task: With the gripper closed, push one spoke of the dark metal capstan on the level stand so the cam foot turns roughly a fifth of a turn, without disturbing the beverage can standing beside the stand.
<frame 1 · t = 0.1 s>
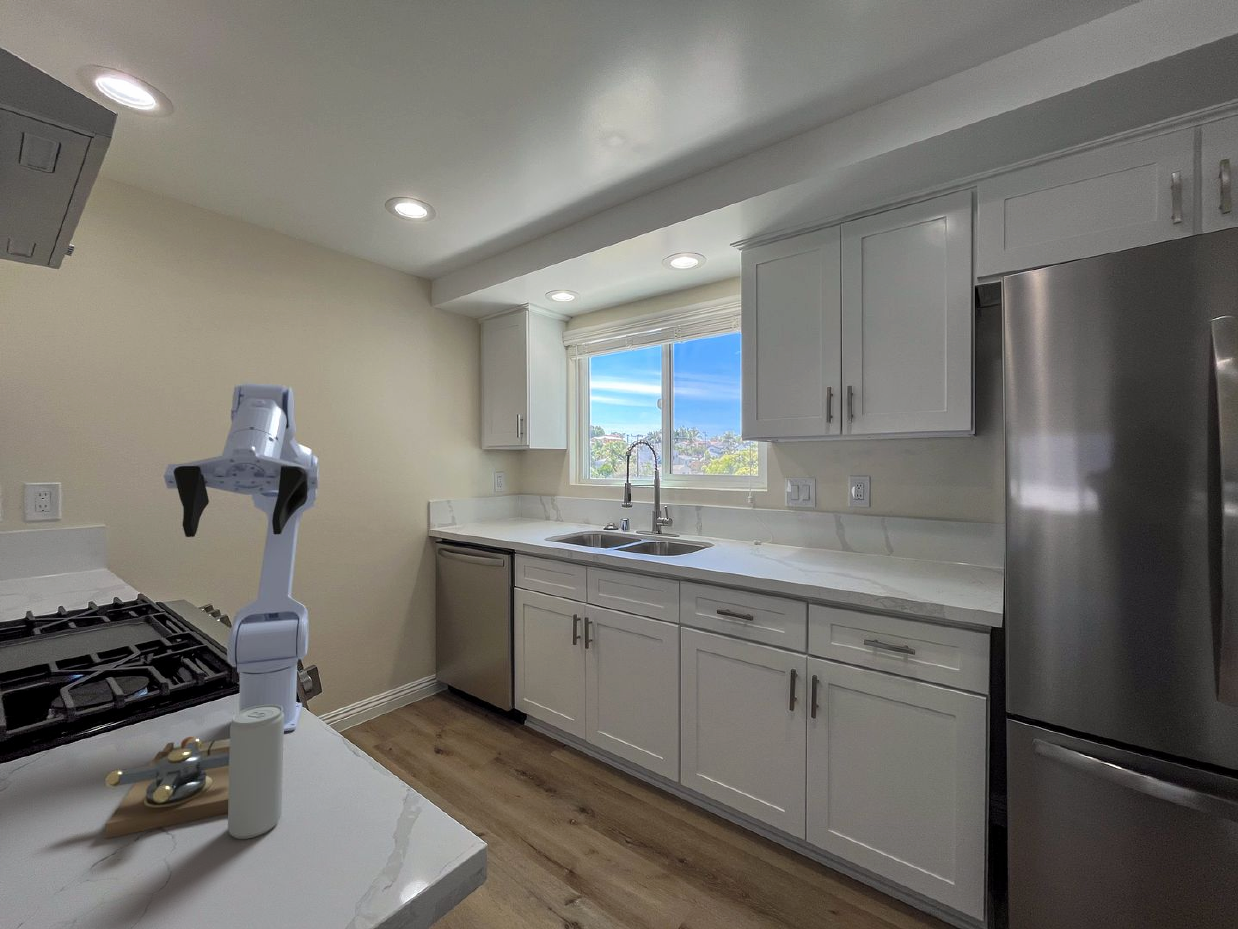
hand: (233, 529, 57), 32 cm above the worktop, tool tilted 50°, fingers open, 7 cm apart
beverage can: (254, 828, 58), on the worktop
level stand: (199, 784, 65), on the worktop
capstan: (179, 770, 61), point 4 cm above the worktop, hinge at 0.0°
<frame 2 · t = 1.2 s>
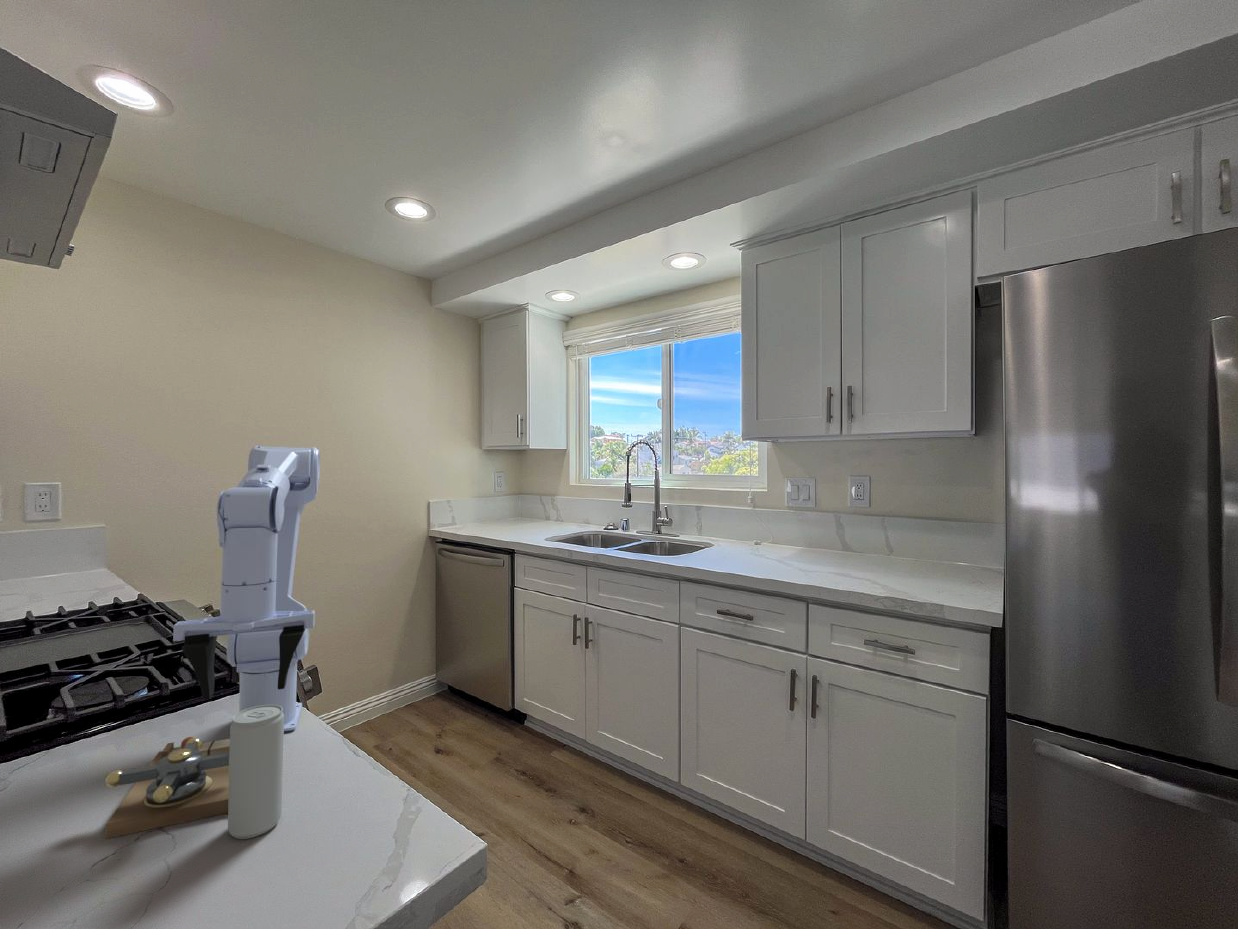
hand: (246, 691, 67), 10 cm above the worktop, tool pointing down, fingers open, 7 cm apart
nothing on the worktop moved.
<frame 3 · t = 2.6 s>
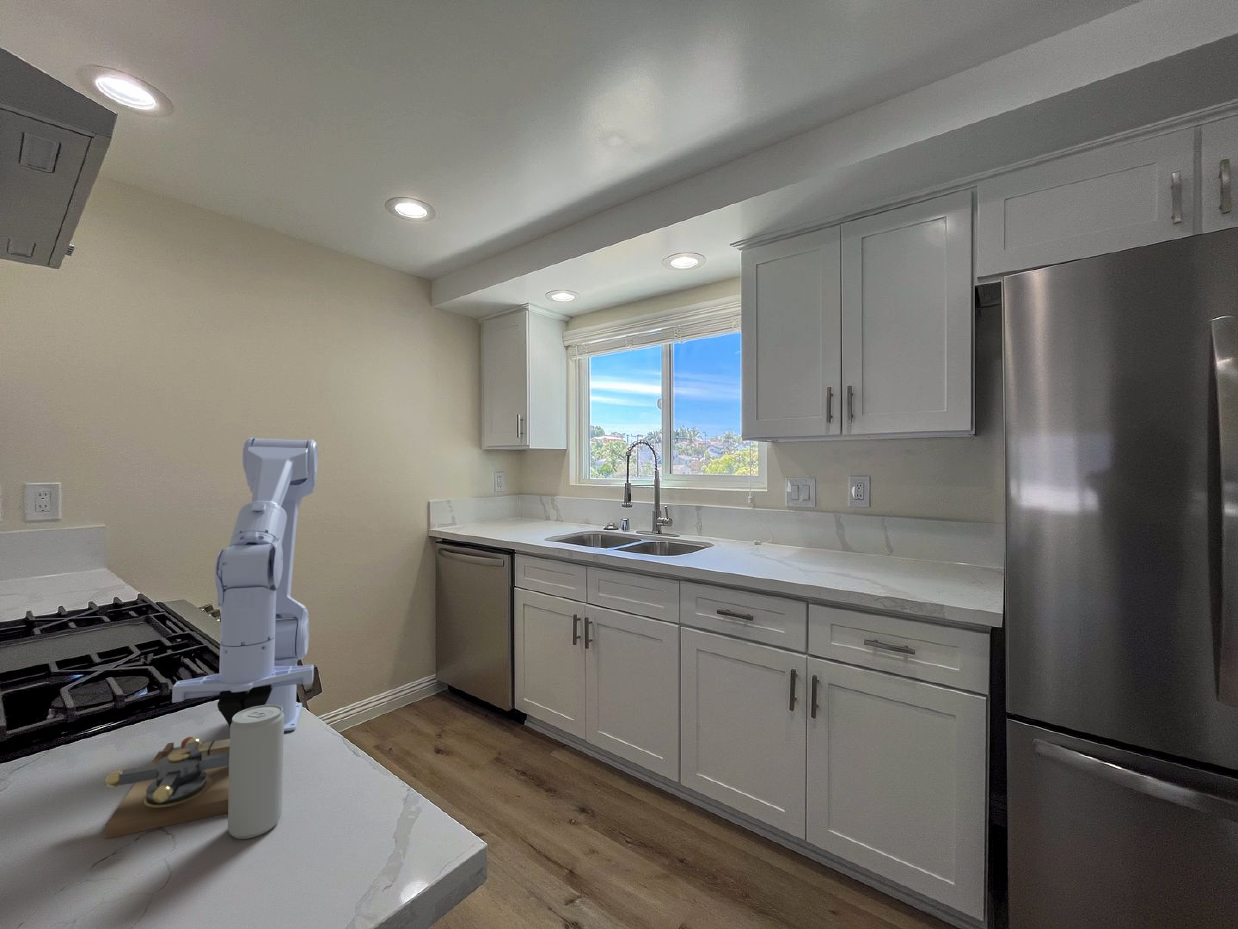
hand: (245, 749, 68), 3 cm above the worktop, tool pointing down, fingers closed
nothing on the worktop moved.
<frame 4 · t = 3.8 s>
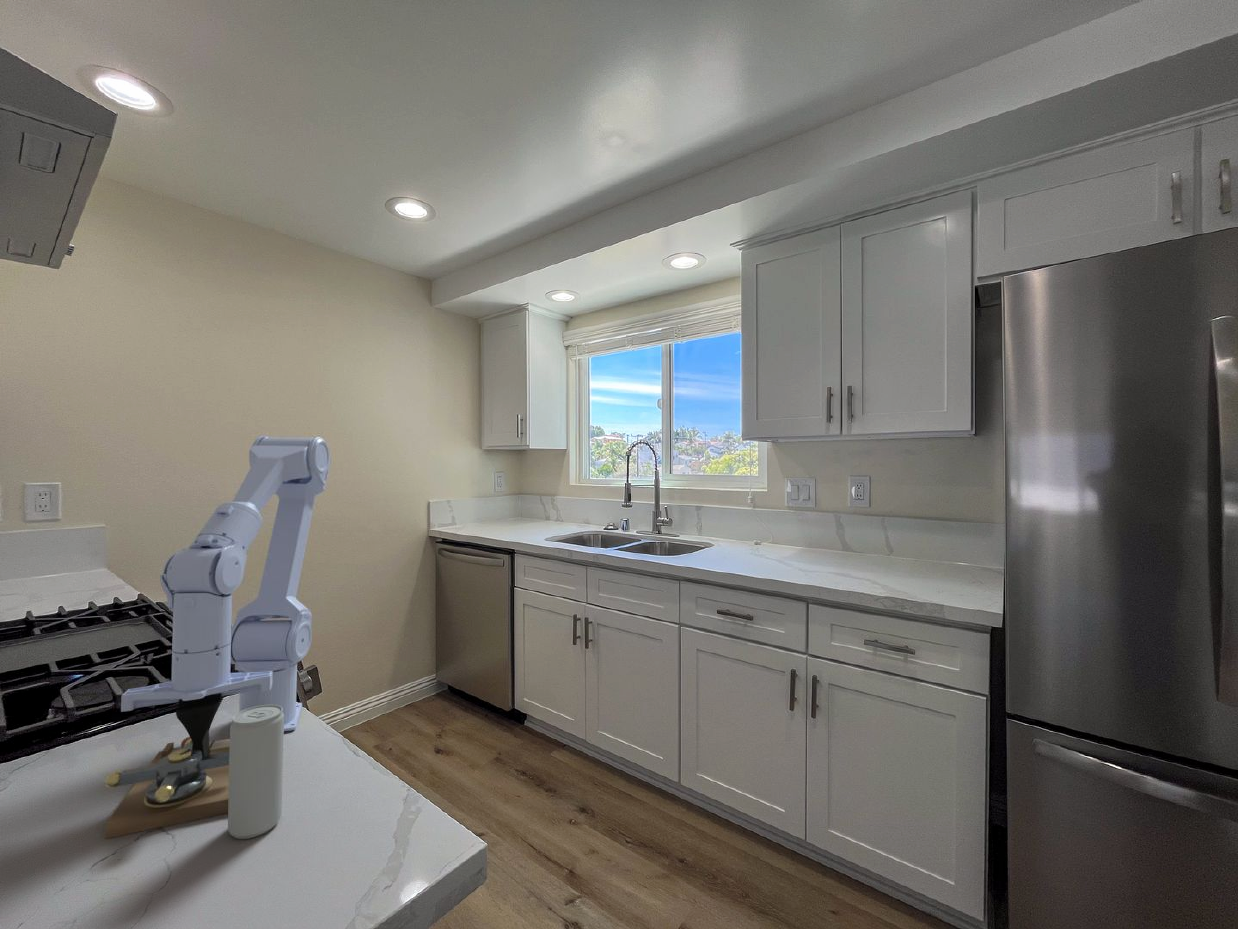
hand: (199, 758, 66), 3 cm above the worktop, tool pointing down, fingers closed, pressing on capstan
capstan: (179, 770, 61), point 4 cm above the worktop, hinge at 1.4°, touching gripper
everything else where it was.
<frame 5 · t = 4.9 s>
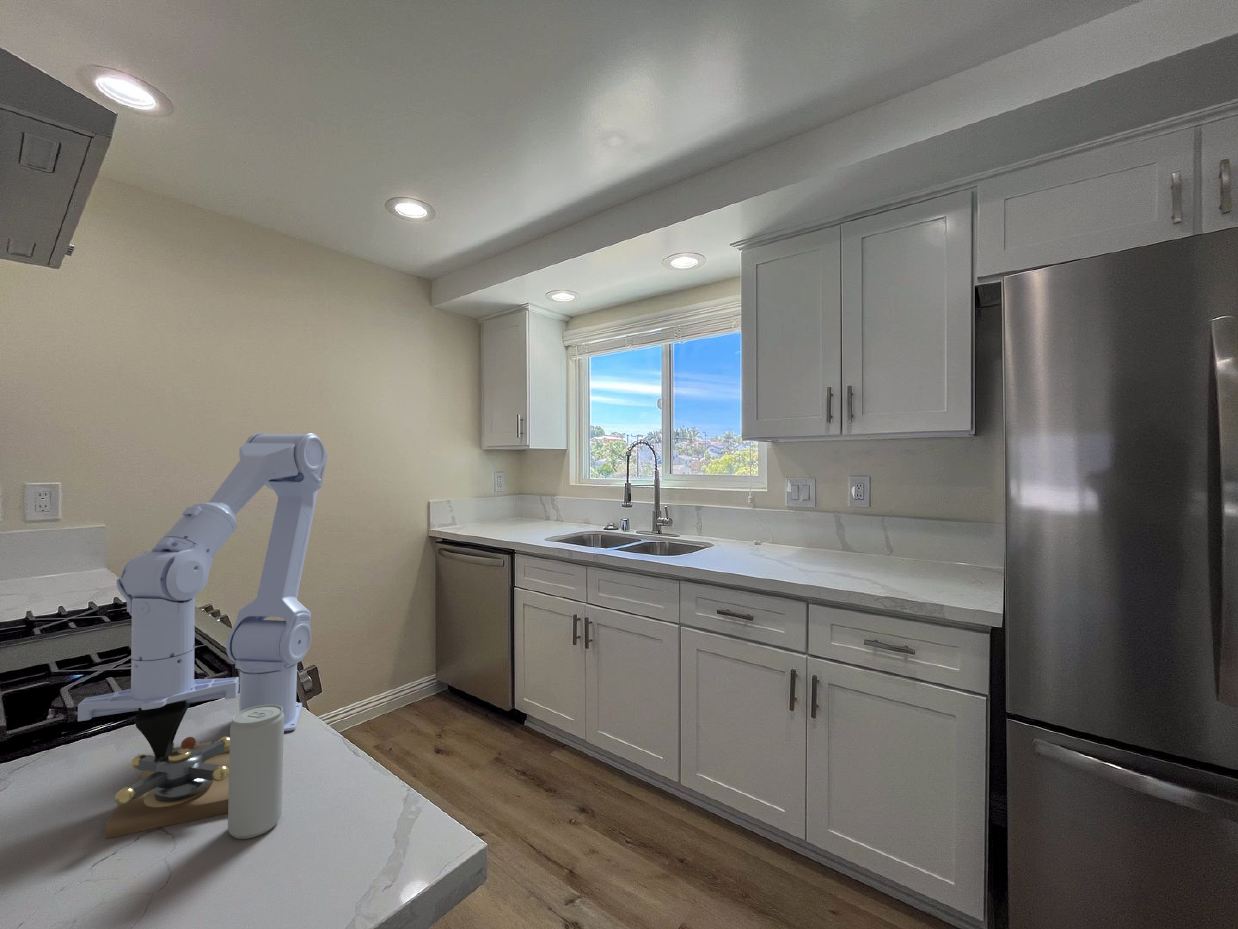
hand: (162, 767, 64), 3 cm above the worktop, tool pointing down, fingers closed, pressing on capstan
capstan: (179, 770, 61), point 4 cm above the worktop, hinge at 53.2°, touching gripper
everything else where it was.
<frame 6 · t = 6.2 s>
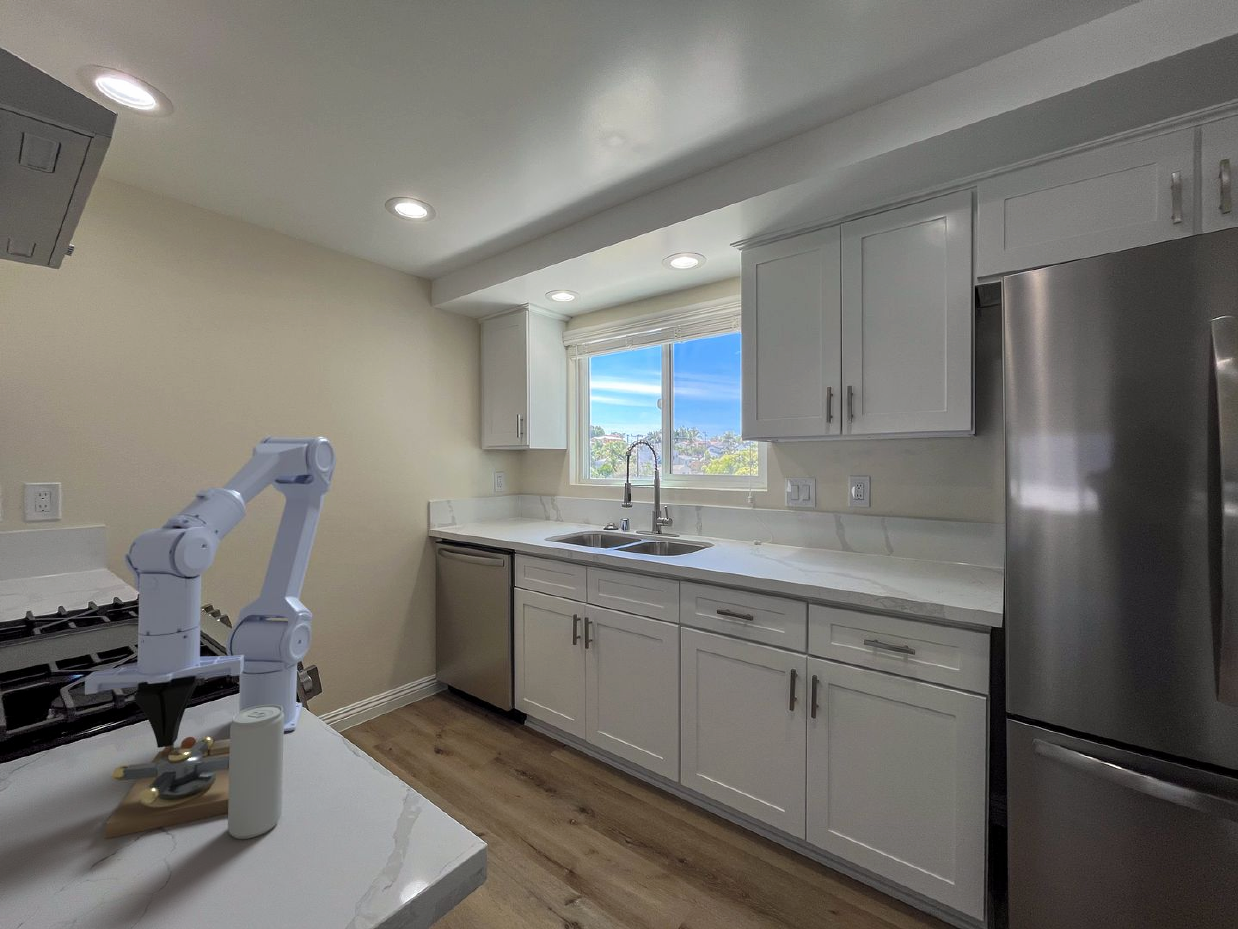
hand: (167, 743, 64), 5 cm above the worktop, tool pointing down, fingers closed
capstan: (179, 770, 61), point 4 cm above the worktop, hinge at 77.9°
everything else where it was.
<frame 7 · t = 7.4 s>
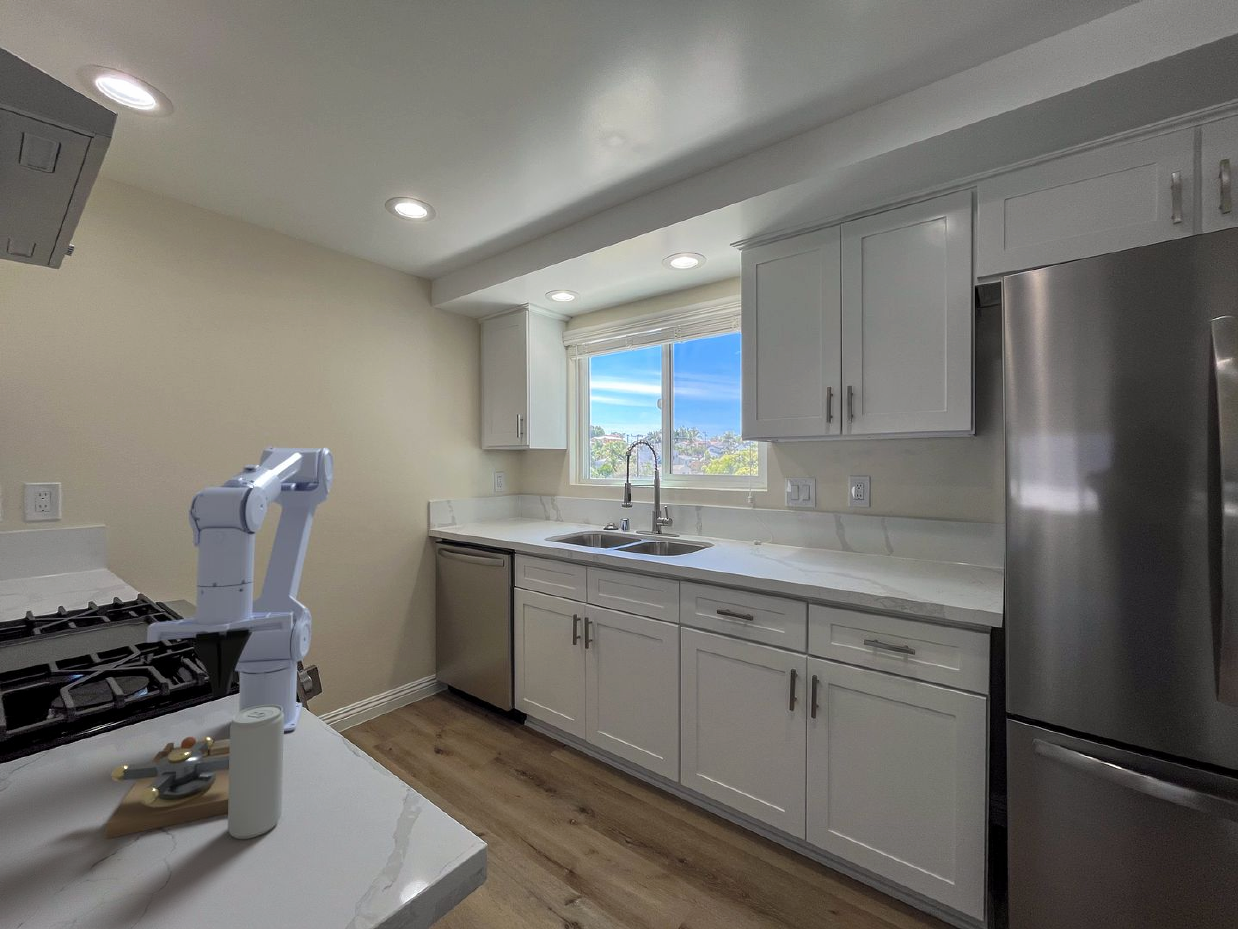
hand: (221, 693, 67), 10 cm above the worktop, tool pointing down, fingers closed
nothing on the worktop moved.
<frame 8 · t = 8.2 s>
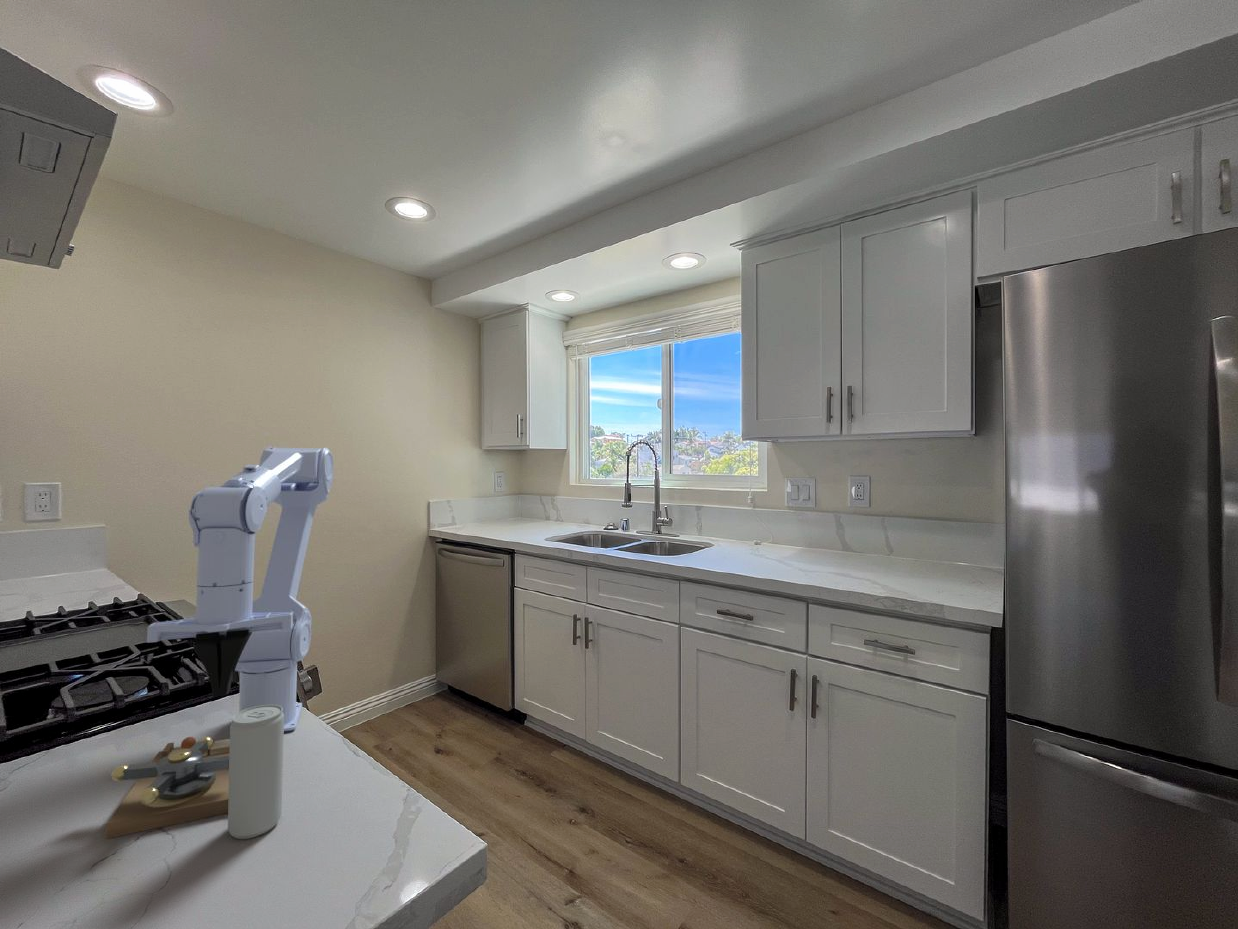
hand: (221, 693, 67), 10 cm above the worktop, tool pointing down, fingers closed
nothing on the worktop moved.
at the end: capstan at +78° (first picture: +0°); beverage can moved 0.2 cm from its start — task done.
